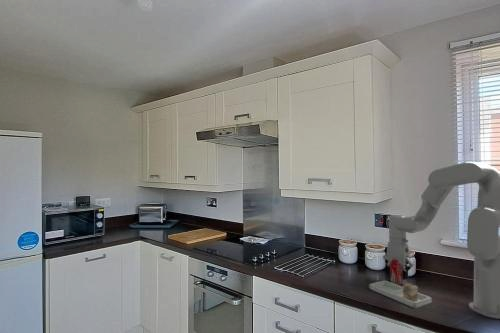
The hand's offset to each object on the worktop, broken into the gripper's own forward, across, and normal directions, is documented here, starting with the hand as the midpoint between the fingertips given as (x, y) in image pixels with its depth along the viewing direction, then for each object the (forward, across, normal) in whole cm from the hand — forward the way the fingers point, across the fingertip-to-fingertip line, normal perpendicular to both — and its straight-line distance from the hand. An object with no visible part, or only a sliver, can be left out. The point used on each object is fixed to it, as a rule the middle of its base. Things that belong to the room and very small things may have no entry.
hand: (397, 276), depth 148 cm
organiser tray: (+4, -9, +13) cm, 17 cm away
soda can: (+3, 0, 0) cm, 3 cm away
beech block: (+3, -15, +13) cm, 20 cm away
